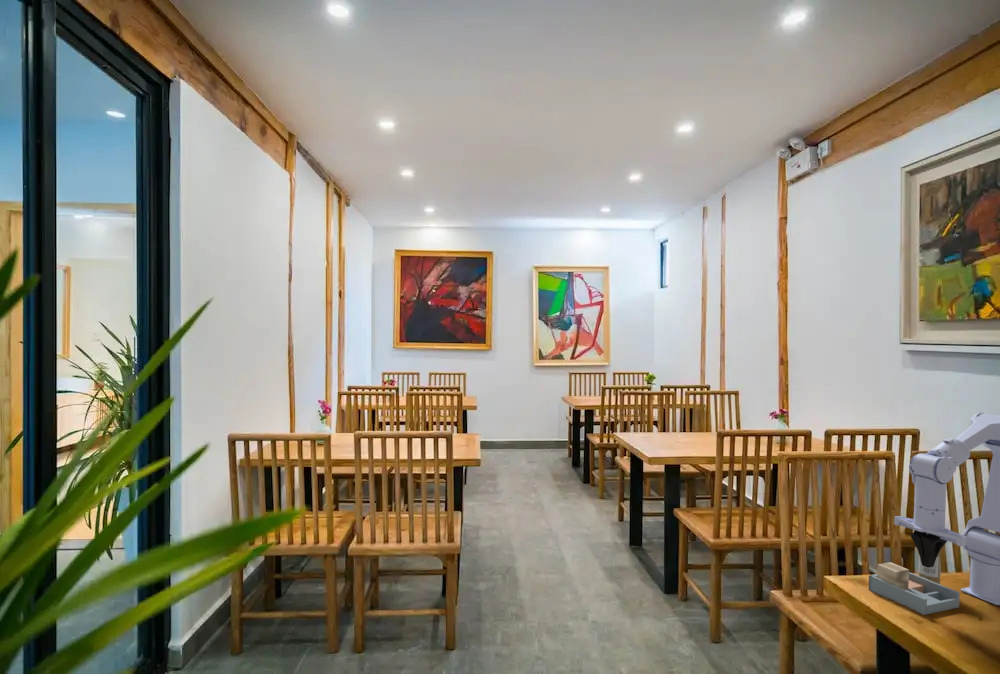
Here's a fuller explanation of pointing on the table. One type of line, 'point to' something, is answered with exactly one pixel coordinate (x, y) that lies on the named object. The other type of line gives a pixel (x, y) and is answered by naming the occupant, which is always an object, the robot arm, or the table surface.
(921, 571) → the sprinkles bottle
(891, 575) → the beech block
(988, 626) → the table surface
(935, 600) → the trap box
